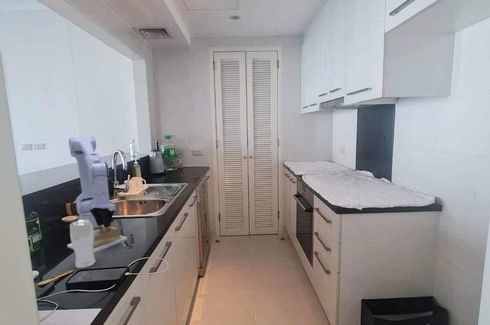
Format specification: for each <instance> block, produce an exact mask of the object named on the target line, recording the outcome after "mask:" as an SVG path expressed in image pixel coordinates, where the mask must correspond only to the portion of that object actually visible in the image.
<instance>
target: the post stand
mask: <svg viewBox="0 0 490 325" xmlns="http://www.w3.org/2000/svg"><path fill="white" fill-rule="evenodd" d="M100 234H101V232H100V229H97V230H94V236H97V235H100ZM127 240H128V236H125V235H121V234H120V238H118V239H116V240H113V241H110V242H108V243H105V244H103V245H100V246H98V247H95V248H93V253H94V254H96V253H98V252H100V251H102V250H105V249H107V248H110V247H112V246H115V245H117V244H119V243H122V242H125V241H127ZM66 246H67V248H69V249H72V250H74V248H73V245H72V242H71V243H69V244H67V245H66Z"/></svg>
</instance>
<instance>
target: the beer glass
mask: <svg viewBox="0 0 490 325" xmlns="http://www.w3.org/2000/svg"><path fill="white" fill-rule="evenodd" d="M69 236H70V242H71V243H72V245H73V248H74V249H73V251H74V253H75V268H76V269H86V268H88V267H89V268H90V267H91V266H93V265H94V264H96V258H95V253H93V246H94V229H93V224H92V220H90V219H85V220H79V221H78V220H75V221H72V222H71V223H69Z"/></svg>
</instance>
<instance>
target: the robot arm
mask: <svg viewBox="0 0 490 325" xmlns="http://www.w3.org/2000/svg"><path fill="white" fill-rule="evenodd" d="M68 146H69V152H70V155H71V157H73V158H75V160H76V162H77V166H78V174H79V180H80V187H81V193H80V194H79V195H78V196H76V199H75V202H76V203H75V205H76V206H75V207H76V211H77V213H78V218H77V221H79V220H85V219H90V220H92V224H93V228H94V227H97V226H100V225H104V227H105V228H106V227H109V226H111V225H112V224H111V223H112V218H113V215H114V213H115V211H116V210H117V209H116V208H117V207H116V204H113V203H112V202H111V201H110V194H109V191H110V190H109V181H108V176H109V173H110V171H109V165H108V163H107V161H104V160H103V159H102V157H101V156H100V154H99V153H98V152H96V148H97V141H96V138H95V137H94V136H85V137H83V136H81V137H72V136H71V137H70V138H69V139H68Z"/></svg>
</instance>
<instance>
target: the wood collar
mask: <svg viewBox="0 0 490 325" xmlns="http://www.w3.org/2000/svg"><path fill="white" fill-rule="evenodd" d="M93 229H94V230H97V229H100V232H101V234H100V235H97V236H94V246H93V248H95V247H98V246H100V245H103V244H105V243H108V242H110V241H113V240H116V239H118V238H120V235H121V233H120V232H121V231H120V228H119V227H115V226H111V225H110V226H109V227H106V228H105V227H104V224H103V225H100V226H97V227H94V228H93Z"/></svg>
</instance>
